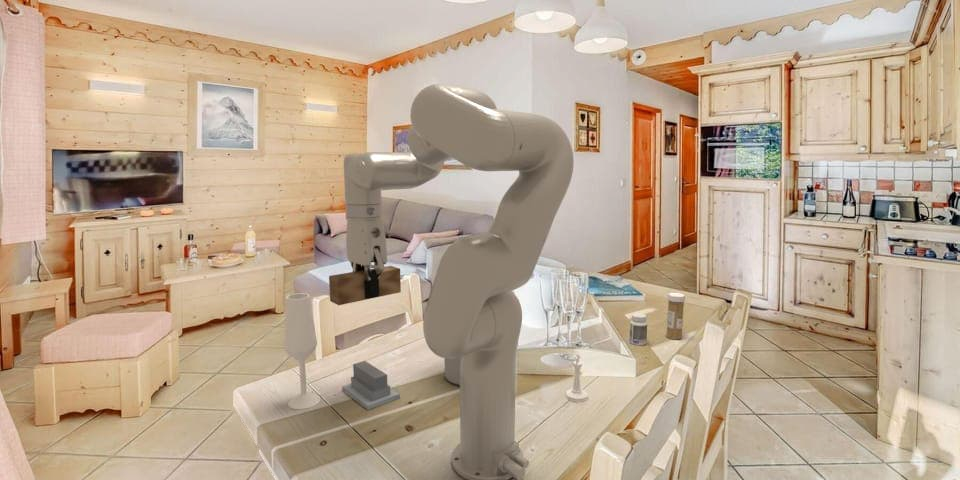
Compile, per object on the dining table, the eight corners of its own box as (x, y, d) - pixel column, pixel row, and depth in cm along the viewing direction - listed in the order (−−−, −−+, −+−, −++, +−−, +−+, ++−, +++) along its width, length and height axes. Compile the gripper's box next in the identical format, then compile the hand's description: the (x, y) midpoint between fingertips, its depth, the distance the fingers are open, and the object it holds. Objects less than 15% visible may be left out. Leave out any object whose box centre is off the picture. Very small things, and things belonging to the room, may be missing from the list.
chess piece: (590, 395, 108) (592, 353, 107) (582, 404, 104) (584, 360, 103) (570, 389, 111) (571, 348, 109) (561, 398, 107) (563, 355, 105)
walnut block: (391, 288, 111) (390, 265, 110) (400, 292, 108) (400, 268, 108) (330, 301, 101) (328, 275, 101) (338, 305, 99) (337, 279, 98)
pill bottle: (649, 343, 139) (651, 315, 138) (638, 346, 137) (640, 318, 135) (636, 338, 143) (638, 311, 142) (625, 341, 141) (627, 314, 139)
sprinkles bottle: (683, 340, 142) (686, 296, 139) (667, 339, 142) (670, 295, 140) (679, 335, 146) (682, 292, 144) (664, 334, 147) (666, 291, 145)
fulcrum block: (399, 397, 107) (399, 372, 106) (367, 410, 102) (366, 383, 101) (373, 380, 116) (372, 356, 115) (342, 390, 111) (341, 365, 110)
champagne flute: (325, 394, 109) (319, 292, 105) (312, 409, 102) (305, 301, 98) (297, 393, 109) (290, 291, 105) (282, 408, 103) (274, 300, 99)
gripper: (400, 214, 98) (402, 300, 101) (360, 207, 111) (363, 284, 114) (367, 217, 93) (370, 307, 96) (329, 210, 106) (333, 290, 109)
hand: (366, 294), depth 105 cm, fingers closed on walnut block, 4 cm apart
